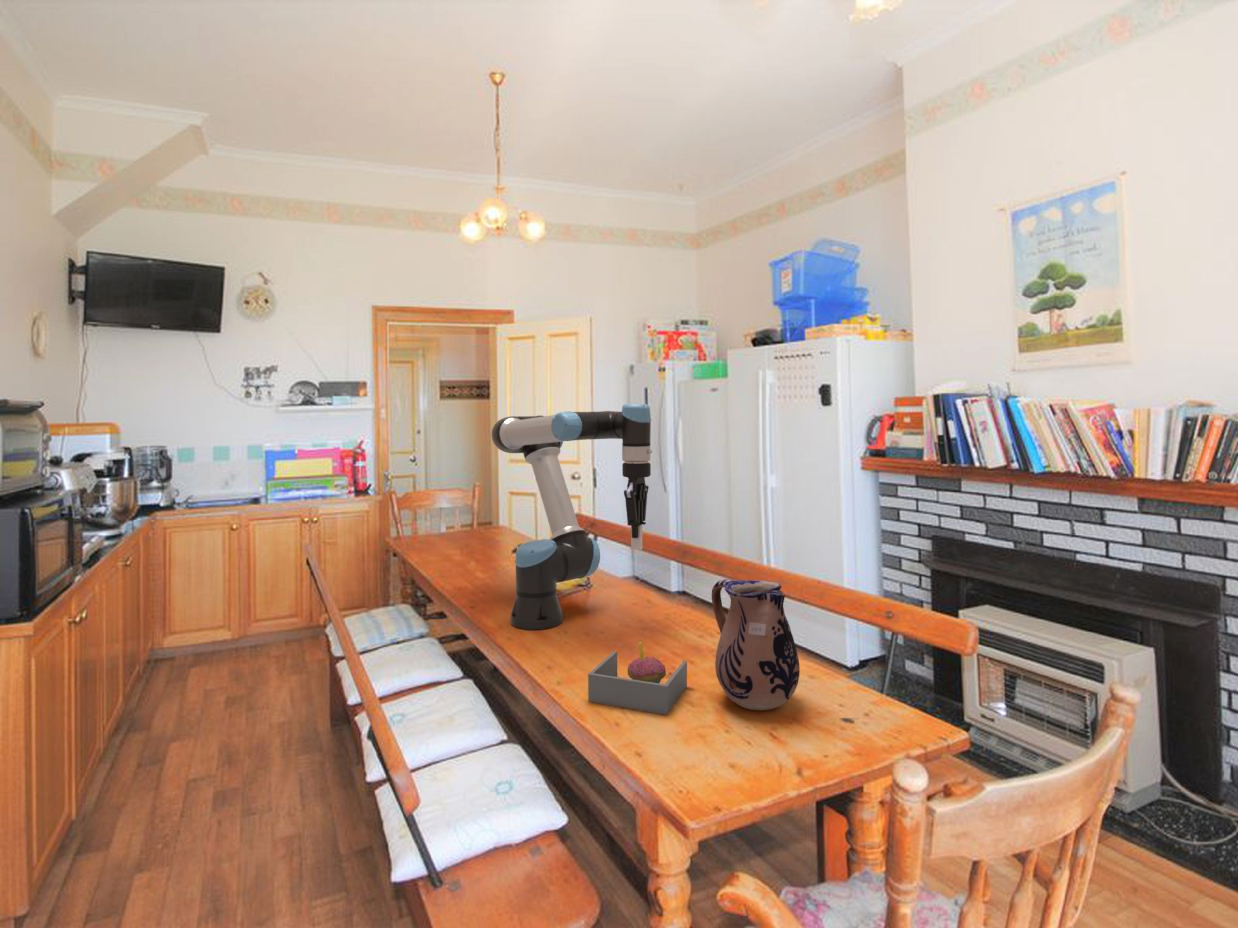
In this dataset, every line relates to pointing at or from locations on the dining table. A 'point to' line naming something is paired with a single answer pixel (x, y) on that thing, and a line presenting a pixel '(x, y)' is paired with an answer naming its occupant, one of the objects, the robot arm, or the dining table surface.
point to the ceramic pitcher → (755, 645)
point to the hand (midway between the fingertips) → (636, 549)
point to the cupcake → (646, 668)
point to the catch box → (634, 688)
